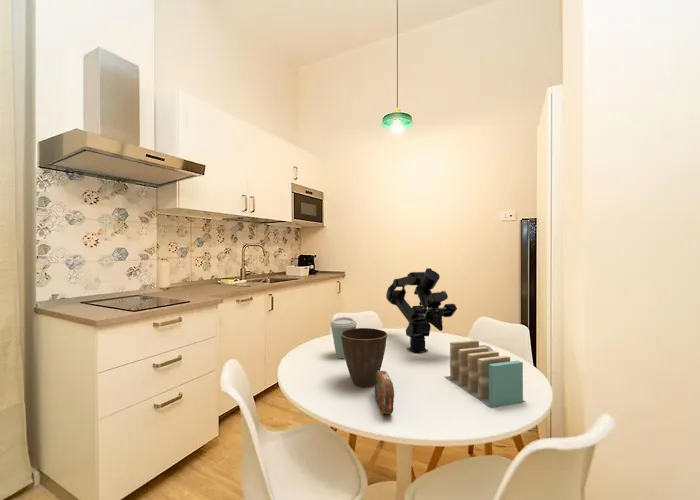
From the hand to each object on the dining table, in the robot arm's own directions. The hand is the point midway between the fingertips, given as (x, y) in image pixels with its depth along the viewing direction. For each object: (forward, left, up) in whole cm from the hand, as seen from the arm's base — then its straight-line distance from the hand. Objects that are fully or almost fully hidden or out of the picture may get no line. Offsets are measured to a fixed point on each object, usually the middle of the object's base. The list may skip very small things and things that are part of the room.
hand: (441, 330), depth 117 cm
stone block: (-1, +19, -13) cm, 24 cm away
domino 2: (+18, -3, -13) cm, 22 cm away
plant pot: (+2, -33, -13) cm, 36 cm away
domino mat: (+21, -3, -13) cm, 25 cm away
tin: (+18, -35, -13) cm, 42 cm away
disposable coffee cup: (-24, -29, -13) cm, 40 cm away
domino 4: (+27, -4, -13) cm, 30 cm away
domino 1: (+13, -2, -13) cm, 19 cm away
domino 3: (+22, -3, -13) cm, 26 cm away
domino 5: (+31, -4, -13) cm, 34 cm away
